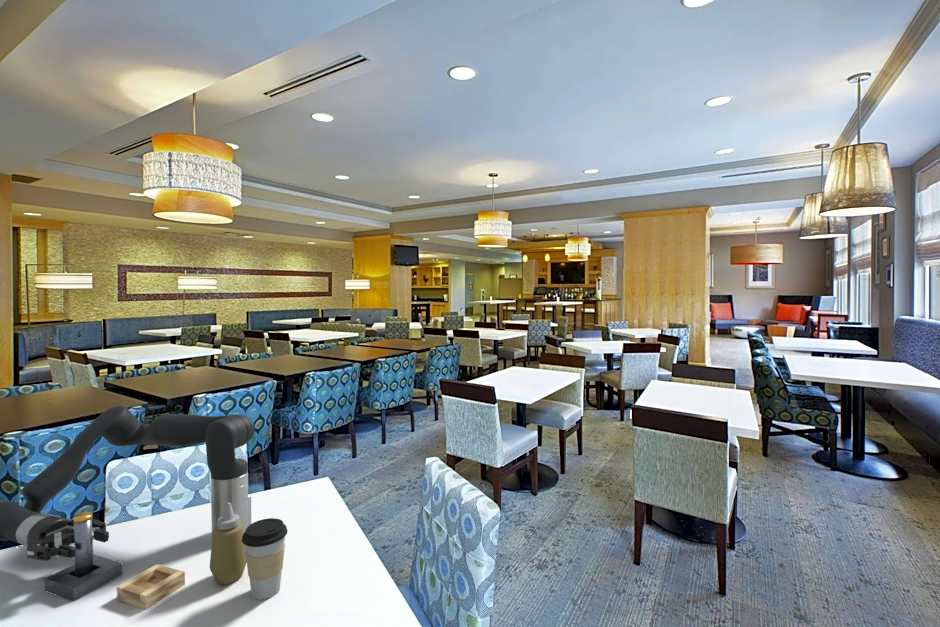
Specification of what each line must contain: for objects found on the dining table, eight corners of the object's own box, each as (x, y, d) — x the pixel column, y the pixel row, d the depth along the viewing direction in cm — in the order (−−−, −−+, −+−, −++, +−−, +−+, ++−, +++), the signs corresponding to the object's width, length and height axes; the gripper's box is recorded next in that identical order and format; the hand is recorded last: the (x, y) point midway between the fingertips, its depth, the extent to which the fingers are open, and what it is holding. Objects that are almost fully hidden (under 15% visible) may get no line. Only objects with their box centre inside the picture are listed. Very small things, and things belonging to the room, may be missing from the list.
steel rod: (88, 577, 107) (86, 510, 106) (97, 580, 106) (95, 513, 105) (71, 585, 104) (69, 517, 103) (81, 588, 103) (79, 520, 102)
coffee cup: (271, 608, 97) (270, 540, 96) (232, 602, 98) (231, 535, 98) (296, 580, 106) (295, 518, 105) (261, 575, 108) (260, 514, 107)
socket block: (94, 566, 111) (94, 554, 111) (122, 574, 108) (121, 562, 108) (45, 591, 102) (44, 578, 102) (73, 601, 98) (73, 588, 98)
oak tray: (157, 576, 107) (157, 563, 107) (184, 584, 104) (184, 571, 104) (117, 600, 99) (116, 586, 99) (145, 609, 96) (145, 596, 96)
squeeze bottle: (255, 571, 110) (254, 498, 109) (228, 591, 102) (226, 514, 101) (230, 564, 112) (229, 493, 112) (201, 583, 105) (200, 508, 104)
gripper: (79, 532, 116) (124, 544, 111) (7, 563, 103) (53, 579, 97) (78, 504, 116) (123, 514, 110) (6, 531, 102) (52, 545, 97)
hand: (90, 545), depth 104 cm, fingers open, 6 cm apart
